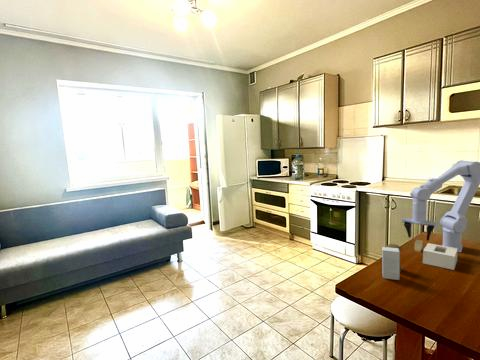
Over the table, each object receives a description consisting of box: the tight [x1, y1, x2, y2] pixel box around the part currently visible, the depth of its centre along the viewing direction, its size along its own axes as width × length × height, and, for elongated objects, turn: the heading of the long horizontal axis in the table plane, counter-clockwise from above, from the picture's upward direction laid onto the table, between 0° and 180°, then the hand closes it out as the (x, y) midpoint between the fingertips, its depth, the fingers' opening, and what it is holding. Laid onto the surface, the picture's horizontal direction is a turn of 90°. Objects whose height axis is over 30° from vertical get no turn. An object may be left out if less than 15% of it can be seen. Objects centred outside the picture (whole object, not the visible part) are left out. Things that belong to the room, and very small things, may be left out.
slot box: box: [422, 242, 458, 271], centre depth 119 cm, size 11×11×6 cm
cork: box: [386, 243, 402, 272], centre depth 115 cm, size 6×6×11 cm
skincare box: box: [381, 246, 401, 281], centre depth 109 cm, size 6×4×12 cm
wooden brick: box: [414, 239, 423, 253], centre depth 133 cm, size 4×2×4 cm, turn 136°
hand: (418, 238), depth 133 cm, fingers open, 7 cm apart
